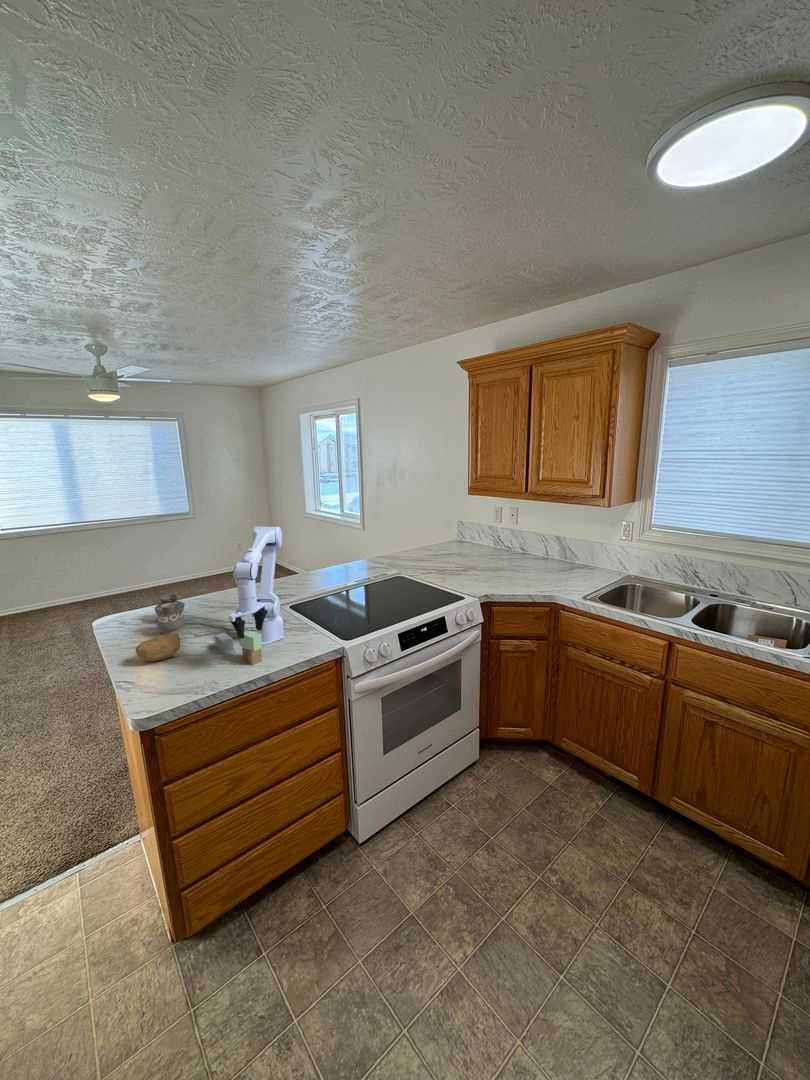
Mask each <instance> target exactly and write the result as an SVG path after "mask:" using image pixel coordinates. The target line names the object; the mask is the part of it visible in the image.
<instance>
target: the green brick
mask: <svg viewBox="0 0 810 1080" xmlns="http://www.w3.org/2000/svg"><path fill="white" fill-rule="evenodd" d="M239 646H240V647H241V648H242V647H243V648H245V649H248V650H251V651H256V650H258V649H260V648H261V649H262V648H263V645H262V637H261V634H259V633H257V631H256V632H255V631H253V630H249V629H246V630H244V638H243V639H241V638H239Z"/></svg>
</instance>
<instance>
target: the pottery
mask: <svg viewBox="0 0 810 1080" xmlns="http://www.w3.org/2000/svg"><path fill="white" fill-rule="evenodd" d="M159 599H160V600H159V601H160V603H158V604H157V605H156V606H155V607H154V611H155V613H156V615H157V618H155V623H156V626H157V627H158V628H159V630H161V631H163V635H166V634H172V633H174V634H177V635H178V634H179V633H180V631H181V630H180V628H181V627H182V625H183V623H184V618H185V617H184V614H183V612H184V609H185V602H182V601H180V600H178V598H177V594H175V593H169V594H168V593H167V594H164V595H162V596H160V597H159Z"/></svg>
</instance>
